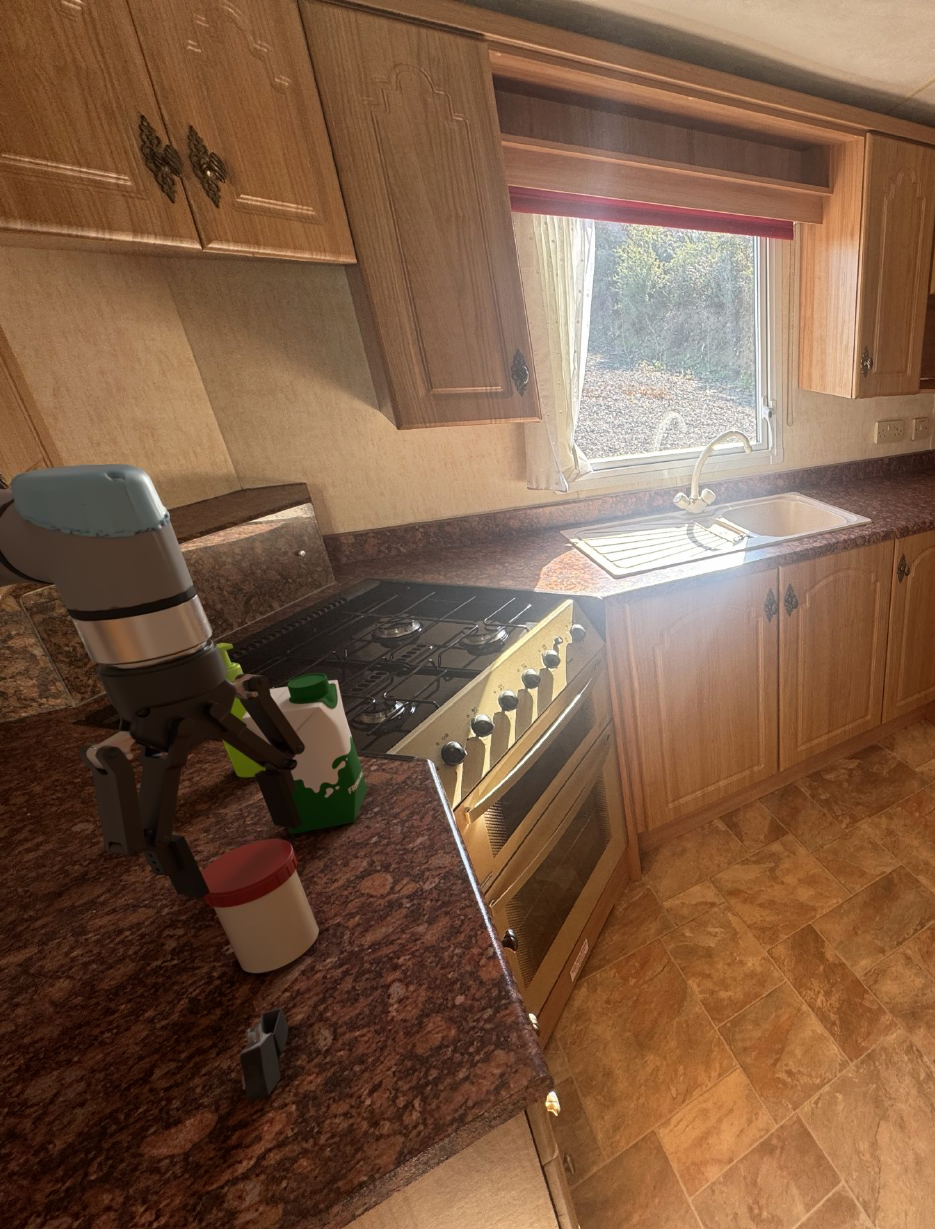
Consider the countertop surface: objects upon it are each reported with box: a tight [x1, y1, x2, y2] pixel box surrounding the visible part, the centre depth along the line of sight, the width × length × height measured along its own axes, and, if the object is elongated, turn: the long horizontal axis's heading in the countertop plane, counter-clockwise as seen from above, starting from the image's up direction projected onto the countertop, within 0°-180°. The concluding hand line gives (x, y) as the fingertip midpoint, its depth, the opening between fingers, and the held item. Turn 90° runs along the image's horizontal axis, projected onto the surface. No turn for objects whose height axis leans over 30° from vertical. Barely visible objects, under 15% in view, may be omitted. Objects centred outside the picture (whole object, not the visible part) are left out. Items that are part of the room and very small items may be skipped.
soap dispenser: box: [217, 642, 265, 778], centre depth 93 cm, size 6×7×20 cm
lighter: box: [239, 1007, 289, 1105], centre depth 56 cm, size 8×2×5 cm
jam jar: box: [212, 869, 320, 974], centre depth 66 cm, size 7×7×11 cm
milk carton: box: [242, 672, 368, 835], centre depth 84 cm, size 9×9×20 cm
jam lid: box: [201, 838, 299, 908], centre depth 64 cm, size 7×7×2 cm
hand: (244, 856), depth 63 cm, fingers open, 9 cm apart
